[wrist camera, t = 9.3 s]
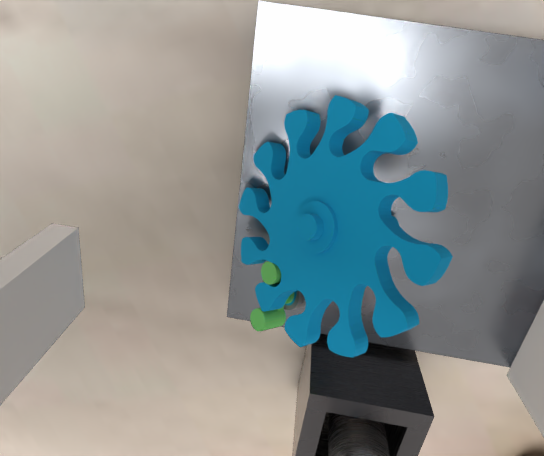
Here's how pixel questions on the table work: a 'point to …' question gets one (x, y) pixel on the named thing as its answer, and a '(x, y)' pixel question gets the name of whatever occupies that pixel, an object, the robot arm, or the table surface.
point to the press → (420, 225)
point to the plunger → (356, 437)
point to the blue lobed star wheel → (338, 229)
